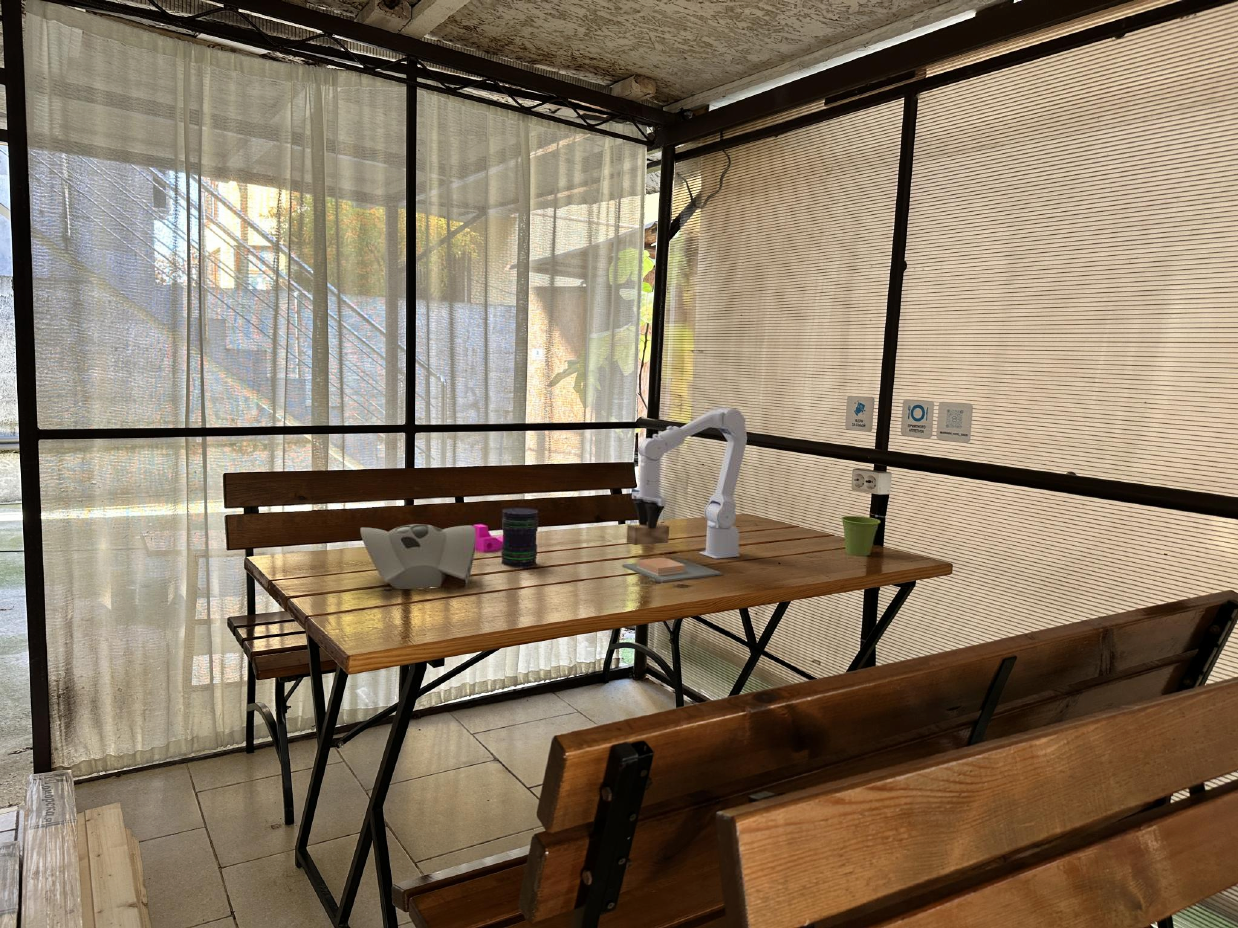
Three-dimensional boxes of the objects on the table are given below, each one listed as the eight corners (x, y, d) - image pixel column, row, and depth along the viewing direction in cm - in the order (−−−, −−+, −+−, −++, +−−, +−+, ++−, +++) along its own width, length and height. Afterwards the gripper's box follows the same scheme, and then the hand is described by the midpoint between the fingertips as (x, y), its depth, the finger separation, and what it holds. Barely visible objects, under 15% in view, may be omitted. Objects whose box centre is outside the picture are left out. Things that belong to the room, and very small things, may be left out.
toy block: (483, 554, 248) (483, 528, 247) (472, 550, 253) (473, 525, 252) (527, 548, 258) (527, 524, 257) (515, 544, 263) (516, 520, 262)
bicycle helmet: (463, 557, 232) (468, 505, 226) (481, 608, 210) (487, 553, 204) (354, 561, 222) (357, 506, 216) (362, 615, 200) (365, 556, 194)
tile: (663, 557, 241) (637, 560, 236) (685, 565, 233) (658, 568, 228) (663, 564, 241) (637, 567, 236) (685, 572, 233) (658, 575, 228)
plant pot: (835, 556, 264) (838, 520, 263) (841, 549, 275) (843, 514, 274) (875, 560, 260) (878, 524, 258) (879, 553, 271) (882, 518, 269)
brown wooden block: (660, 540, 254) (661, 523, 254) (668, 542, 251) (669, 526, 250) (626, 542, 248) (627, 525, 247) (634, 545, 244) (635, 527, 244)
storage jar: (544, 564, 237) (545, 511, 236) (516, 569, 230) (518, 515, 229) (520, 558, 244) (522, 506, 242) (493, 563, 237) (494, 509, 235)
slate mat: (680, 560, 250) (680, 558, 250) (721, 574, 234) (721, 572, 234) (622, 566, 239) (622, 564, 239) (662, 582, 223) (662, 580, 223)
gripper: (624, 477, 251) (622, 523, 252) (652, 484, 239) (650, 532, 240) (644, 476, 255) (641, 521, 256) (673, 483, 243) (670, 530, 244)
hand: (647, 526), depth 249 cm, fingers closed on brown wooden block, 4 cm apart
